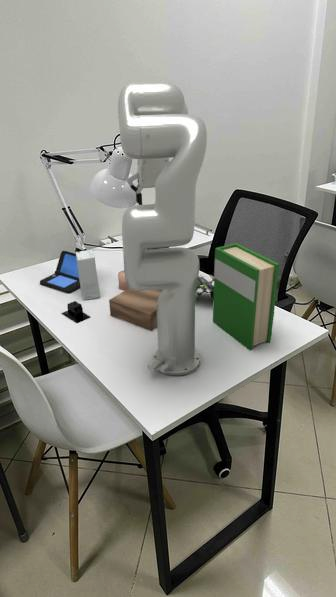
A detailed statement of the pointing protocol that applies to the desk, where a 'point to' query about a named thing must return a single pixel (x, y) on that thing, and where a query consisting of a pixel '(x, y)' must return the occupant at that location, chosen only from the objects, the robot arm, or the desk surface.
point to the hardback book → (244, 294)
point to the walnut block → (136, 307)
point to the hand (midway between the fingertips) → (154, 203)
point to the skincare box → (87, 274)
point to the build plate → (75, 312)
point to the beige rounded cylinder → (122, 281)
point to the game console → (64, 274)
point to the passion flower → (205, 286)
